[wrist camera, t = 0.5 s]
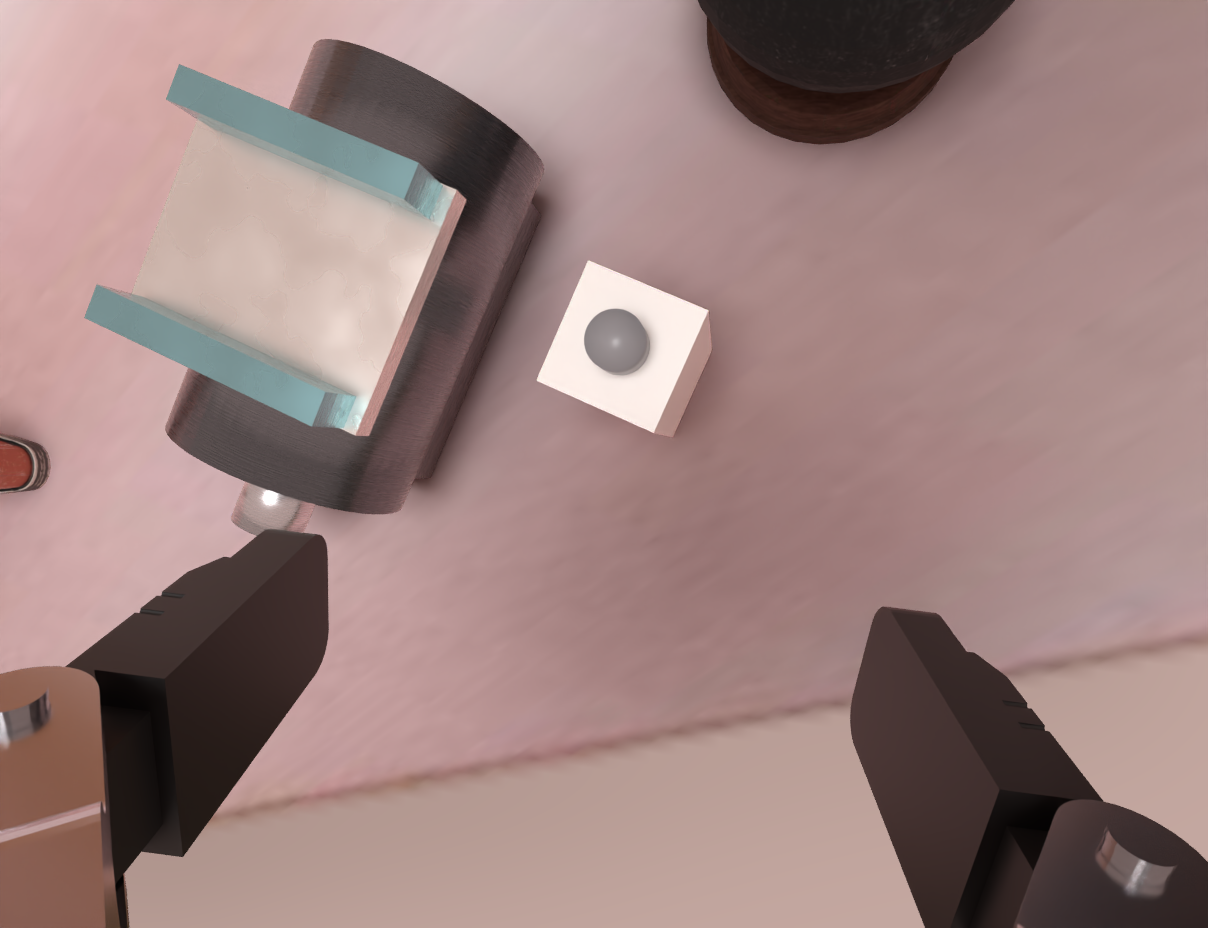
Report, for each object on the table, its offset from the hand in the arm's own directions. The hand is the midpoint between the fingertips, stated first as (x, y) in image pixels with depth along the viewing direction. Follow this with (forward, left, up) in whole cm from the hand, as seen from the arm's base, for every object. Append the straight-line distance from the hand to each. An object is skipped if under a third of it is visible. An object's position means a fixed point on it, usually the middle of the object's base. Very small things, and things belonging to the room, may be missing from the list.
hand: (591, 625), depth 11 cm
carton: (-5, -4, -24) cm, 25 cm away
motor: (-1, -16, -24) cm, 29 cm away
